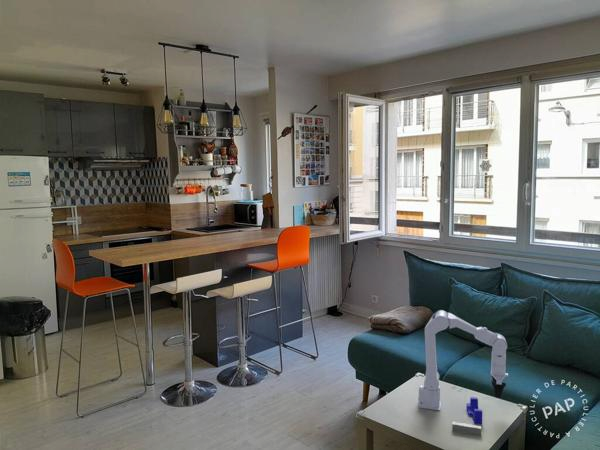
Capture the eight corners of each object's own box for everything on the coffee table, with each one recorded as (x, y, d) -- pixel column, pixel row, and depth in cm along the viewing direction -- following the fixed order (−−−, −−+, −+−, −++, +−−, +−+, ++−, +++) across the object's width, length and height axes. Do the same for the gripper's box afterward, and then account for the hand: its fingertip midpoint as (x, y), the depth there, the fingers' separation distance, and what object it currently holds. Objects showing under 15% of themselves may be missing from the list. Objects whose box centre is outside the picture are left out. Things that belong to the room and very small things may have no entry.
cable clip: (466, 409, 205) (466, 396, 204) (476, 410, 204) (477, 397, 203) (470, 423, 193) (471, 410, 193) (482, 424, 192) (482, 411, 192)
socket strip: (452, 430, 188) (452, 424, 187) (452, 428, 190) (452, 421, 189) (480, 435, 184) (481, 428, 184) (480, 433, 186) (480, 426, 186)
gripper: (510, 371, 189) (508, 402, 190) (507, 357, 202) (506, 387, 204) (491, 369, 191) (490, 399, 193) (490, 355, 205) (489, 384, 206)
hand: (497, 393), depth 198 cm, fingers open, 7 cm apart
